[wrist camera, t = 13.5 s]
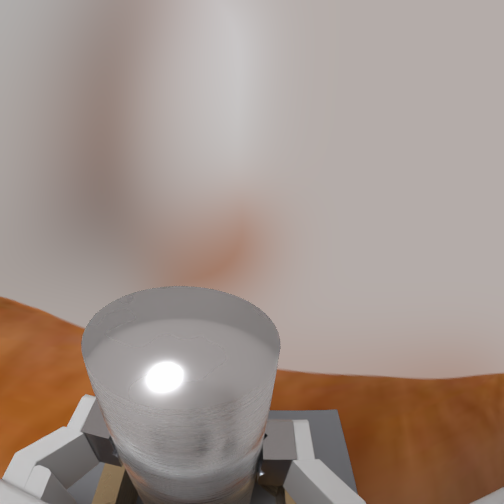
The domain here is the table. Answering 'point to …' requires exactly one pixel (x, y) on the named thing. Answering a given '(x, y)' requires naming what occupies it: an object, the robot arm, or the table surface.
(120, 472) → the bronze ring
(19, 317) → the table surface
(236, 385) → the piston
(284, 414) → the base plate
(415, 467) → the table surface
